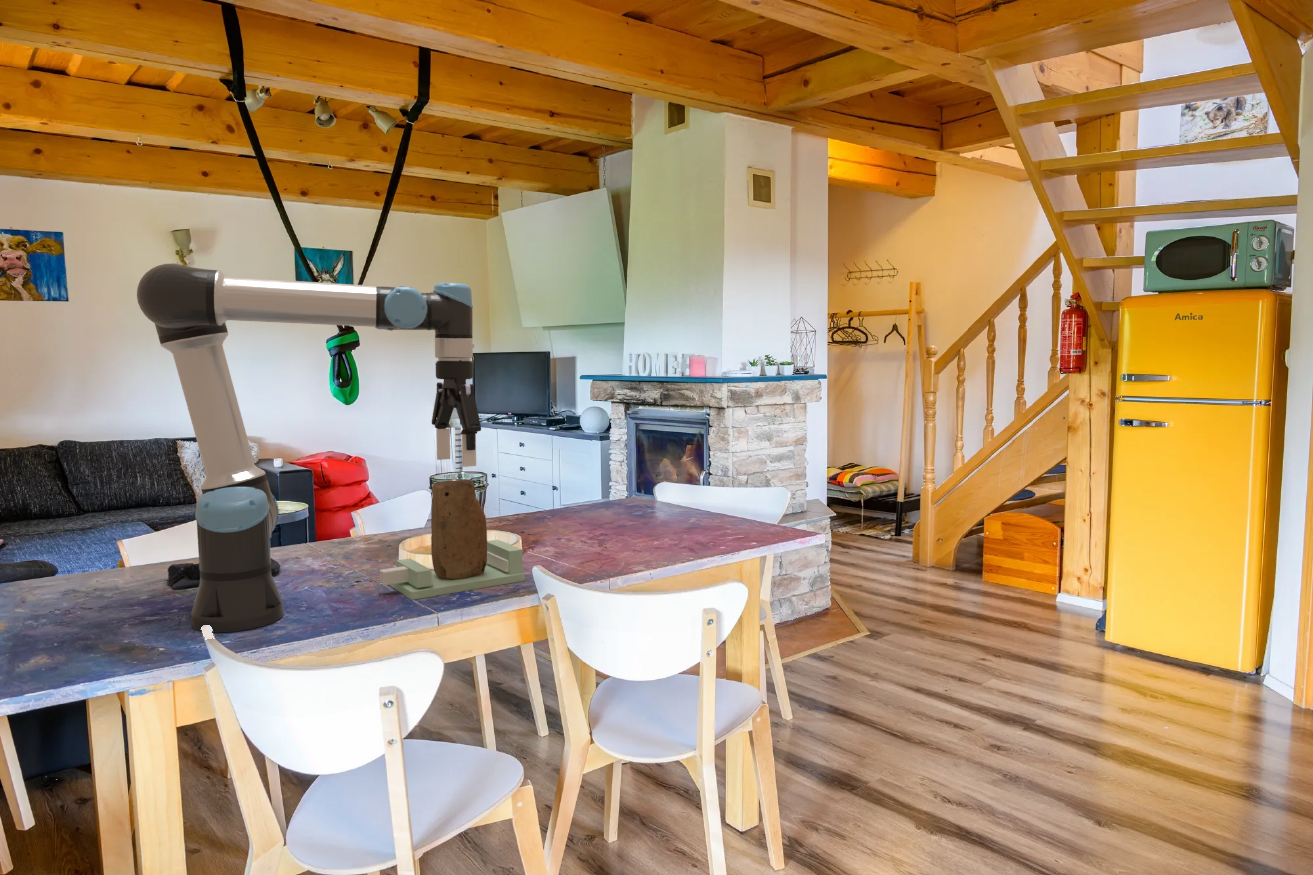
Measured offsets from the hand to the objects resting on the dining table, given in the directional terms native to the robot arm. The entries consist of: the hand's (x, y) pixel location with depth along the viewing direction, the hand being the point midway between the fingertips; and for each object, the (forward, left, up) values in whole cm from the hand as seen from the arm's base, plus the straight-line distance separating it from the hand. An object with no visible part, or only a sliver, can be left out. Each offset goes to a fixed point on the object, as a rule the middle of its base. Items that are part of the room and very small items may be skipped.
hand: (456, 462), depth 183 cm
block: (0, 0, -24) cm, 24 cm away
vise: (0, 0, -25) cm, 25 cm away
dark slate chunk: (-39, +34, -26) cm, 58 cm away
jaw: (-12, 0, -23) cm, 26 cm away
